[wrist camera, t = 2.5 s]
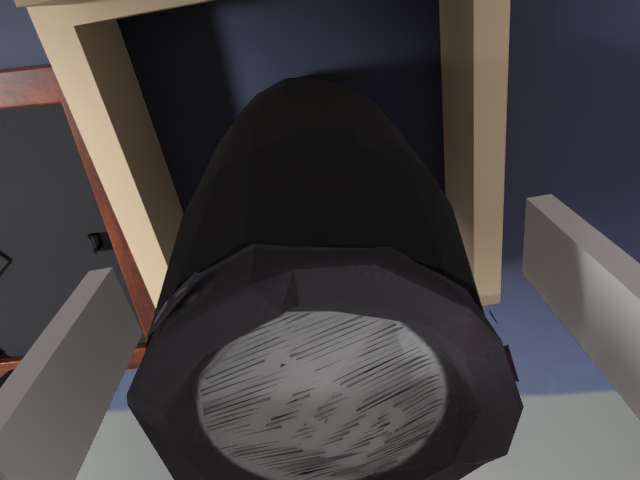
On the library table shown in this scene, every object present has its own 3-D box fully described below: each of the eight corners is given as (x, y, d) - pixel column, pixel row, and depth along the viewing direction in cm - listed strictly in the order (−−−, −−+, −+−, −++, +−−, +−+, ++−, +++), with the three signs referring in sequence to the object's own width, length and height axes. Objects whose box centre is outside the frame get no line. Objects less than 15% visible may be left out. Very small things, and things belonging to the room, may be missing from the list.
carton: (192, 304, 31) (155, 419, 23) (74, -10, 22) (-62, -10, 13) (470, 257, 30) (537, 358, 22) (468, -86, 21) (582, -137, 13)
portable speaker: (404, 89, 25) (655, 310, 8) (344, 234, 29) (422, 586, 12) (251, 35, 23) (138, 162, 6) (211, 197, 27) (76, 547, 10)
